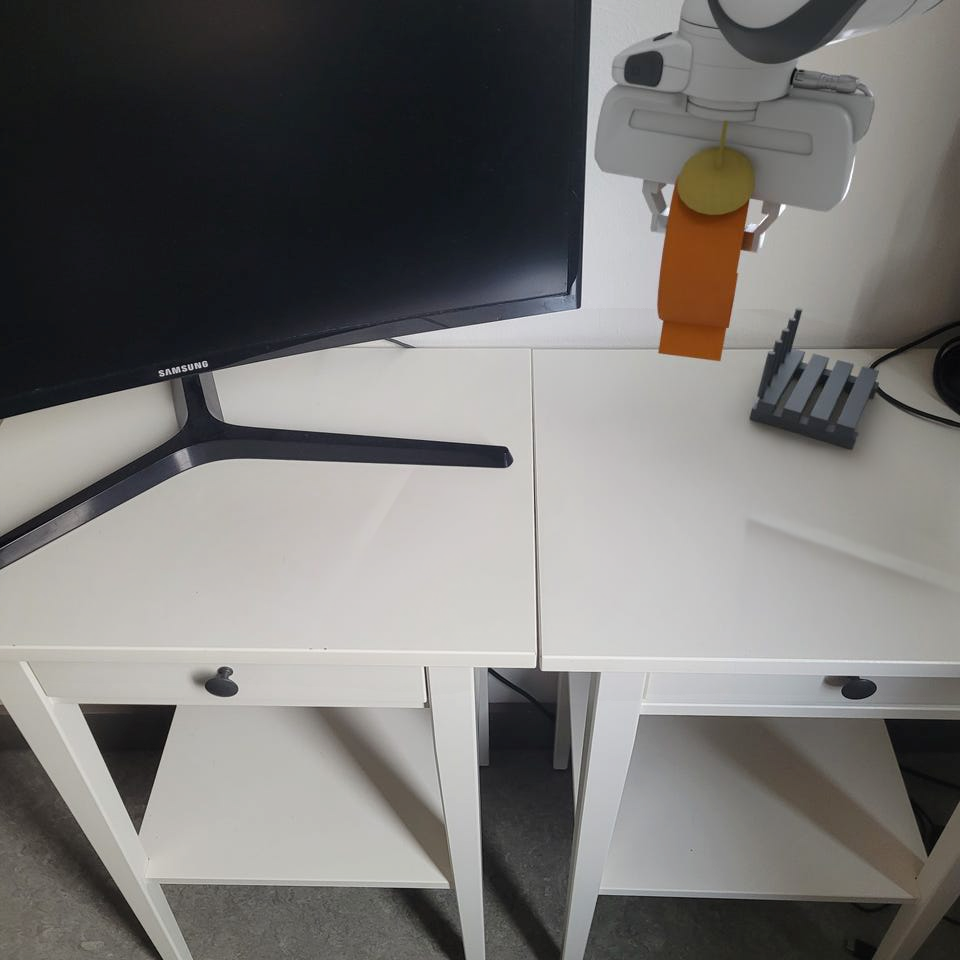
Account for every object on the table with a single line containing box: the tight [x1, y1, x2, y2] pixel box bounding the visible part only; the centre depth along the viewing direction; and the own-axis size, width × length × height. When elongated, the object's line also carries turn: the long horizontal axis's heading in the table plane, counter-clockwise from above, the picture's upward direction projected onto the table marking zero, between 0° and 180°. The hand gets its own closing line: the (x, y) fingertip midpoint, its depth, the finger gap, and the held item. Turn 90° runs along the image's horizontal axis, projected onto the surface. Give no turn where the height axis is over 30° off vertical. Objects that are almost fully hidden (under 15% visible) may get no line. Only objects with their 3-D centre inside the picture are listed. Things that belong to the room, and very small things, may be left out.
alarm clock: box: [656, 110, 755, 362], centre depth 68 cm, size 13×6×20 cm, turn 163°
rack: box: [749, 307, 880, 450], centre depth 98 cm, size 12×14×9 cm
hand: (704, 240), depth 69 cm, fingers closed on alarm clock, 6 cm apart
